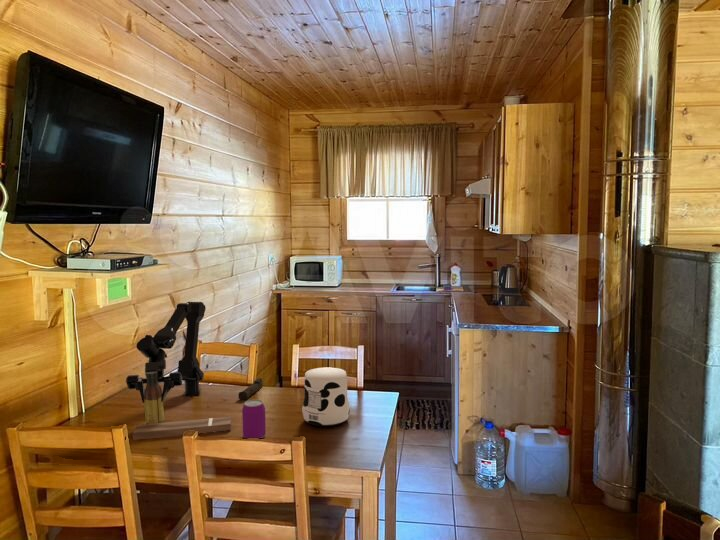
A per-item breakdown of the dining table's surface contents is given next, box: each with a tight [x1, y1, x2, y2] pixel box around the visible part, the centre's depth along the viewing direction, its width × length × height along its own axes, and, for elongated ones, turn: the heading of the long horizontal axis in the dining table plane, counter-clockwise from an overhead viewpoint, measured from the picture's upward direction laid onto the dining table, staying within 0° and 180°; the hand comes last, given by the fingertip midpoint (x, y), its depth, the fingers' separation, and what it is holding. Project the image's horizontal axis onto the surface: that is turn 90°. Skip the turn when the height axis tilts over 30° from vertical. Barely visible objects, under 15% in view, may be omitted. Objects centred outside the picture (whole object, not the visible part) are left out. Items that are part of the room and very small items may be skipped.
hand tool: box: [237, 377, 264, 401], centre depth 222 cm, size 19×4×5 cm, turn 163°
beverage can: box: [241, 398, 267, 439], centre depth 177 cm, size 8×8×12 cm
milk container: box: [301, 366, 351, 427], centre depth 190 cm, size 17×17×18 cm
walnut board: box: [132, 416, 232, 441], centre depth 182 cm, size 7×32×3 cm, turn 103°
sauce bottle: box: [143, 371, 165, 424], centre depth 187 cm, size 7×6×20 cm
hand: (152, 401), depth 186 cm, fingers closed on sauce bottle, 6 cm apart
